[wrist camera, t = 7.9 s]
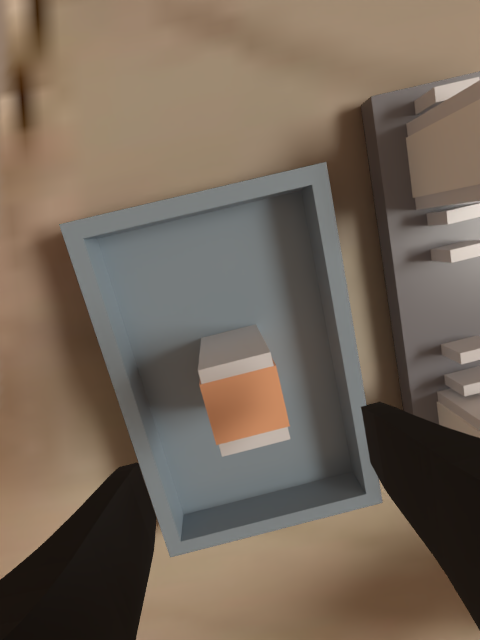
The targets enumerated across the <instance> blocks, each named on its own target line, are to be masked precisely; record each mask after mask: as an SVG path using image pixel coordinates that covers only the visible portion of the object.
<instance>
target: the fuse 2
mask: <svg viewBox="0 0 480 640" xmlns="http://www.w3.org/2000/svg"><path fill="white" fill-rule="evenodd" d="M437 394H438V402H437V410H438V418H439V425H442V426H444V427H447V428H450V429H453V430H456V431H459V432H463V433H466V434H469V435H472V436H475V437H479V438H480V393H477V394H473V395H469V396H465V397H464V396H463V395H461V394H459V393H458V392H456V391H455V390H453V389H451V388H450V389H446V390H442V391H438V392H437Z"/></svg>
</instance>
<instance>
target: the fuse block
mask: <svg viewBox="0 0 480 640" xmlns="http://www.w3.org/2000/svg"><path fill="white" fill-rule="evenodd" d="M479 80H480V72H475V73H471V74H467V75H462V76H458V77H454V78H449V79H445V80H441V81H436V82H432V83H428V84H423V85H419V86H415V87H410V88H406V89H402V90H397V91H393V92H388V93H384V94H380V95H375V96H371V97H370V98H369V99H368V100H367V101H366V102H364V103H363V104H362V105H361V110H362V117H363V125H364V132H365V139H366V146H367V153H368V160H369V167H370V175H371V182H372V189H373V196H374V203H375V210H376V217H377V225H378V232H379V239H380V246H381V253H382V260H383V267H384V275H385V282H386V289H387V296H388V303H389V310H390V317H391V325H392V332H393V339H394V346H395V353H396V360H397V367H398V375H399V382H400V389H401V396H402V403H403V410H404V411H405V412H408V413H410V414H413V415H415V416H418V417H420V418H423V419H425V420H428V421H431V422H433V423H436V424H439V418H438V410H437V402H438V394H437V392H438V391H442V390H446V389H450V388H451V389H453V390H455V391H456V392H458V393H459V394H461V395H463V396H464V397H465V396H469V395H473V394H477V393H480V201H473V202H467V203H460V204H453V205H446V206H439V207H432V208H425V209H418V210H416V204H415V198H413V195H412V186H411V178H410V169H409V161H408V152H407V144H406V137H408V134H407V126H406V124H407V123H409V122H410V121H412V120H414V119H415V118H417V117H419V116H420V115H422V114H424V113H425V112H427V111H429V110H430V109H432V108H434V107H436V106H437V105H439V104H441V103H442V102H444V101H446V100H447V99H449V98H451V97H452V96H454V95H456V94H457V93H459V92H461V91H462V90H464V89H466V88H468V87H469V86H471V85H473V84H474V83H476V82H478V81H479Z"/></svg>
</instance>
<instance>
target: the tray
mask: <svg viewBox="0 0 480 640" xmlns="http://www.w3.org/2000/svg"><path fill="white" fill-rule="evenodd" d="M59 225H60V228H61V231H62V234H63V237H64V240H65V243H66V246H67V249H68V252H69V255H70V258H71V261H72V264H73V267H74V270H75V273H76V276H77V279H78V282H79V285H80V288H81V291H82V294H83V297H84V300H85V303H86V306H87V309H88V312H89V315H90V318H91V321H92V324H93V327H94V330H95V333H96V336H97V339H98V342H99V345H100V348H101V351H102V354H103V357H104V360H105V363H106V366H107V369H108V372H109V375H110V378H111V381H112V384H113V387H114V390H115V393H116V396H117V399H118V402H119V405H120V408H121V411H122V414H123V417H124V420H125V423H126V426H127V429H128V432H129V435H130V438H131V441H132V444H133V447H134V450H135V453H136V456H137V459H138V462H139V465H140V468H141V471H142V474H143V477H144V480H145V483H146V486H147V489H148V492H149V495H150V498H151V501H152V504H153V507H154V510H155V513H156V516H157V519H158V522H159V525H160V528H161V531H162V534H163V537H164V540H165V543H166V546H167V549H168V552H169V555H170V557H174V556H178V555H181V554H185V553H189V552H193V551H197V550H201V549H205V548H209V547H213V546H216V545H220V544H224V543H228V542H232V541H236V540H240V539H244V538H248V537H251V536H255V535H259V534H263V533H267V532H271V531H275V530H279V529H282V528H286V527H290V526H294V525H298V524H302V523H306V522H310V521H314V520H317V519H321V518H325V517H329V516H333V515H337V514H341V513H345V512H349V511H352V510H356V509H360V508H364V507H368V506H372V505H376V504H380V503H382V497H381V490H380V484H379V478H378V476H377V474H376V472H375V470H374V468H373V467H372V465H371V463H370V457H369V451H368V445H367V440H366V434H365V428H364V422H363V416H362V410H361V407H362V406H366V399H365V393H364V387H363V381H362V375H361V369H360V363H359V357H358V351H357V345H356V339H355V333H354V327H353V321H352V315H351V308H350V302H349V296H348V290H347V284H346V278H345V272H344V266H343V260H342V254H341V248H340V242H339V236H338V230H337V224H336V217H335V211H334V205H333V199H332V193H331V187H330V181H329V175H328V169H327V163H326V162H324V163H319V164H315V165H311V166H307V167H302V168H298V169H294V170H289V171H285V172H281V173H277V174H272V175H268V176H264V177H260V178H255V179H251V180H247V181H242V182H238V183H234V184H230V185H225V186H221V187H217V188H213V189H208V190H204V191H200V192H195V193H191V194H187V195H183V196H178V197H174V198H170V199H166V200H161V201H157V202H153V203H149V204H144V205H140V206H136V207H131V208H127V209H123V210H119V211H114V212H110V213H106V214H102V215H97V216H93V217H89V218H84V219H80V220H76V221H72V222H67V223H63V224H59ZM255 324H256V325H257V327H258V329H259V331H260V333H261V335H262V337H263V339H264V341H265V343H266V345H267V346H268V348H269V350H270V352H271V356H272V358H273V360H274V362H275V364H276V367H277V372H278V376H279V380H280V385H281V389H282V394H283V398H284V402H285V407H286V411H287V416H288V420H289V424H290V426H289V427H288V431H289V435H290V439H289V440H285V441H282V442H278V443H274V444H270V445H266V446H262V447H258V448H254V449H251V450H247V451H243V452H239V453H235V454H231V455H227V456H223V457H222V455H221V451H220V448H219V445H216V442H215V439H214V435H213V432H212V428H211V424H210V421H209V417H208V414H207V410H206V407H205V403H204V400H203V396H202V393H201V389H200V386H199V382H200V376H199V373H198V364H199V355H200V345H201V338H203V337H207V336H211V335H215V334H219V333H223V332H227V331H231V330H235V329H239V328H243V327H247V326H251V325H255Z"/></svg>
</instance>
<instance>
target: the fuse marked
mask: <svg viewBox="0 0 480 640" xmlns="http://www.w3.org/2000/svg"><path fill="white" fill-rule="evenodd" d="M198 373H199V376H200V382H199V386H200V389H201V393H202V396H203V400H204V403H205V407H206V410H207V414H208V417H209V421H210V424H211V428H212V432H213V435H214V439H215V442H216V445H219V448H220V451H221V455H222V457H223V456H227V455H231V454H235V453H239V452H243V451H247V450H251V449H254V448H258V447H262V446H266V445H270V444H274V443H278V442H282V441H285V440H289V439H290V435H289V431H288V427H289V426H290V424H289V420H288V416H287V411H286V407H285V402H284V398H283V394H282V389H281V385H280V380H279V376H278V372H277V367H276V364H275V362H274V360H273V358H272V356H271V352H270V350H269V348H268V346H267V345H266V343H265V341H264V339H263V337H262V335H261V333H260V331H259V329H258V327H257V325H256V324H255V325H251V326H247V327H243V328H239V329H235V330H231V331H227V332H223V333H219V334H215V335H211V336H207V337H203V338H201V345H200V355H199V364H198Z"/></svg>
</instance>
